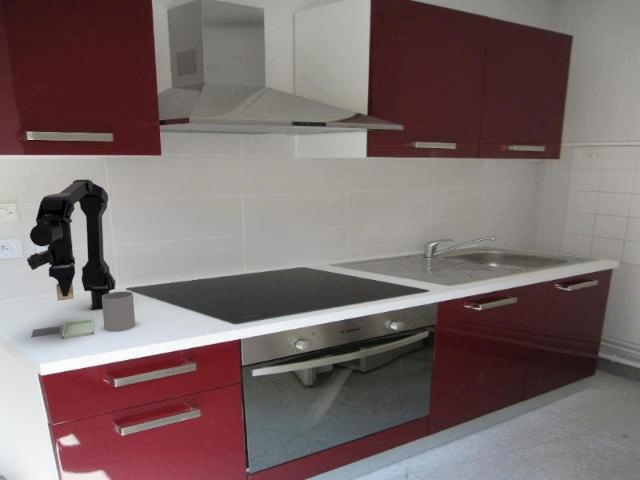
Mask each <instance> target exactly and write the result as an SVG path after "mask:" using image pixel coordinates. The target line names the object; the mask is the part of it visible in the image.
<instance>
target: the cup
mask: <svg viewBox="0 0 640 480" xmlns="http://www.w3.org/2000/svg"><path fill="white" fill-rule="evenodd" d="M134 303H135V301H134V293H133V292H132V291H113V292H110V293H108V294H105V295H103V296H102V305H103V309H102V317H103V327H104V331H107V332H110V333H111V332H112V333H113V332H123V331H128V330H132V329H133V328H135V326H136V315H135V304H134Z"/></svg>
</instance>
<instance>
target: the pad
mask: <svg viewBox="0 0 640 480" xmlns="http://www.w3.org/2000/svg"><path fill="white" fill-rule="evenodd" d="M60 331H61V325H59V326H58V325H57V326H52V327H51V326H50V327H44V328H36V329H33V330H32V333H31V335H30V337H31V338H37V337H43V336H50V335H51V336H52V335H57V334H60Z"/></svg>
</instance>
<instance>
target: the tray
mask: <svg viewBox="0 0 640 480" xmlns="http://www.w3.org/2000/svg"><path fill="white" fill-rule="evenodd" d="M93 335H95V321H94V318H91V319H83V320H81V319H80V320H74V321H67V322H66V321H65V322H63V327H62V334H61V339H62V340H64V339H73V338H78V337H80V338H81V337H86V336H93Z"/></svg>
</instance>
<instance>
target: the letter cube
mask: <svg viewBox="0 0 640 480" xmlns="http://www.w3.org/2000/svg"><path fill="white" fill-rule="evenodd" d="M55 287H56V297H57V298H56V299H57V301H58V302H59V301H67V300H73V299H74V296H75V295H74V285H73V283H72V284H71V287H70V290H69V293H68V296H66V297H63V295H62V292H61V289H60V286H59V283H56V286H55Z"/></svg>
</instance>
